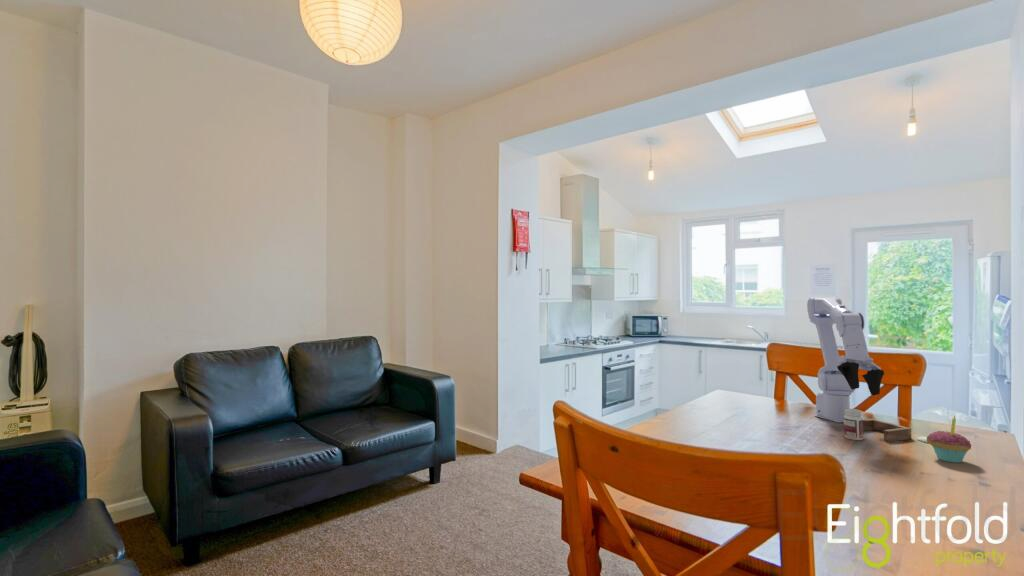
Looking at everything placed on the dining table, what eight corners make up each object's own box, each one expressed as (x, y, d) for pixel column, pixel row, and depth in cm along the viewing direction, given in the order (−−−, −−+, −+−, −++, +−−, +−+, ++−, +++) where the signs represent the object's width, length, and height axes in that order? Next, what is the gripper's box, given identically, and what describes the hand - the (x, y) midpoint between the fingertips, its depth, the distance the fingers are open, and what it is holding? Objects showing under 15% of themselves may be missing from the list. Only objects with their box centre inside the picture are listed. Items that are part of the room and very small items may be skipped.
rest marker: (911, 438, 140) (911, 437, 140) (926, 437, 141) (926, 436, 141) (934, 445, 134) (934, 444, 134) (949, 443, 135) (949, 442, 135)
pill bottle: (857, 435, 144) (856, 408, 144) (867, 440, 139) (866, 412, 139) (840, 435, 144) (839, 408, 144) (850, 440, 139) (849, 412, 139)
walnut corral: (850, 430, 148) (850, 421, 149) (872, 428, 151) (872, 418, 151) (888, 441, 138) (887, 431, 138) (911, 438, 140) (911, 428, 140)
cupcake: (981, 465, 118) (980, 417, 118) (947, 465, 119) (946, 418, 119) (950, 453, 127) (949, 409, 127) (918, 453, 127) (917, 409, 127)
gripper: (848, 338, 140) (858, 382, 133) (886, 350, 143) (898, 393, 136) (827, 346, 146) (836, 388, 139) (864, 357, 149) (874, 399, 142)
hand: (865, 391), depth 138 cm, fingers open, 7 cm apart
